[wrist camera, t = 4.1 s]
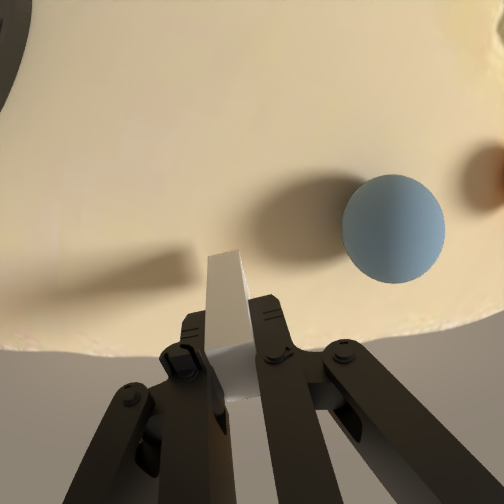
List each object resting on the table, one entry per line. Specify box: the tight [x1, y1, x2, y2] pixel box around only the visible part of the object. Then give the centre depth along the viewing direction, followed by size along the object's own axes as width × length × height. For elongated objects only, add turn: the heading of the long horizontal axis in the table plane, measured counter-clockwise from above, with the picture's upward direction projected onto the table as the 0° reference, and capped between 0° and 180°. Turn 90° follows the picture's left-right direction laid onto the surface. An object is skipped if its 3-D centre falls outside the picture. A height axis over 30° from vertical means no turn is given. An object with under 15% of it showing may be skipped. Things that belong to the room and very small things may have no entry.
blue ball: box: [342, 175, 445, 284], centre depth 14 cm, size 6×6×6 cm
